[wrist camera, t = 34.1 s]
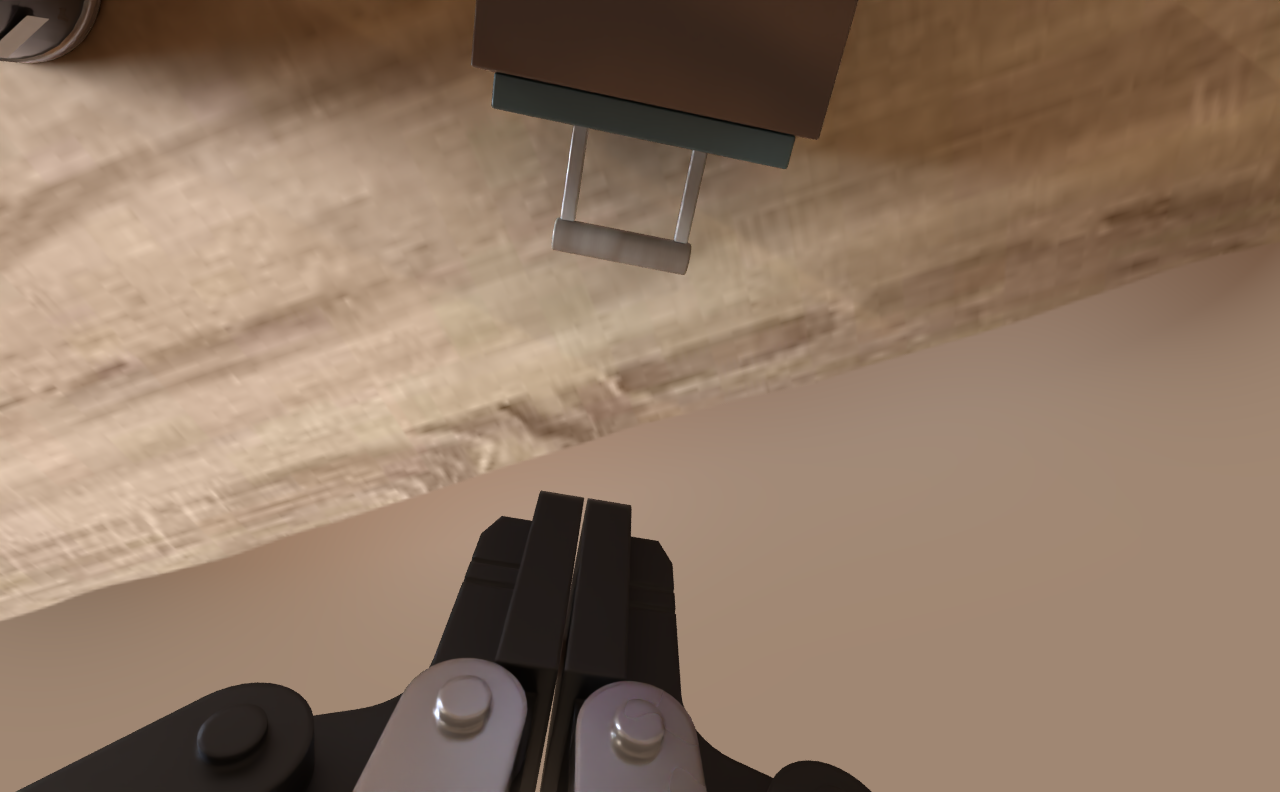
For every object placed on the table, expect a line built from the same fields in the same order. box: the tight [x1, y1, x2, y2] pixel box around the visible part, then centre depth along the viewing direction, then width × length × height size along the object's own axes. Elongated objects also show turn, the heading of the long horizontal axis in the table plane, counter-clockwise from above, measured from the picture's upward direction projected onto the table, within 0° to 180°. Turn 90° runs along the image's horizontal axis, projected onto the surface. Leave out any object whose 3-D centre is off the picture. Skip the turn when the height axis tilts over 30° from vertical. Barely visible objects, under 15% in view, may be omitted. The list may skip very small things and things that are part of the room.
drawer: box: [491, 72, 795, 275], centre depth 25 cm, size 18×11×7 cm, turn 169°
